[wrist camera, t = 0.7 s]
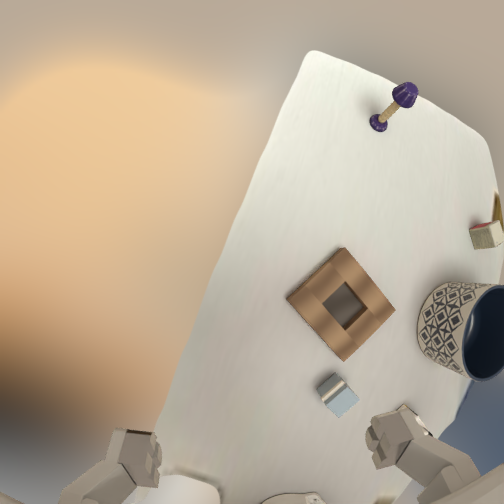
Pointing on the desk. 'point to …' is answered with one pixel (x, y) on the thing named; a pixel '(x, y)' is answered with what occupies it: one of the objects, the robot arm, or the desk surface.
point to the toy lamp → (395, 105)
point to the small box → (487, 235)
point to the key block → (337, 395)
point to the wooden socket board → (342, 304)
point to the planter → (465, 329)
